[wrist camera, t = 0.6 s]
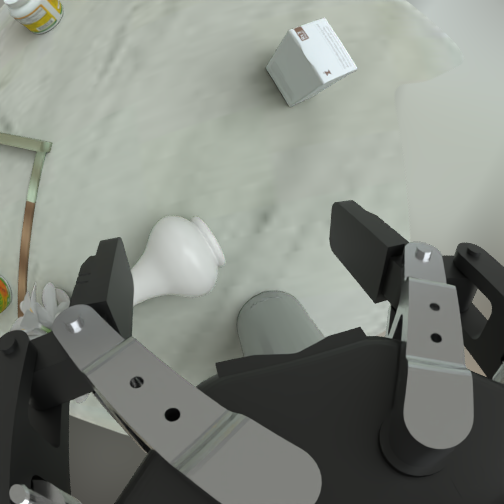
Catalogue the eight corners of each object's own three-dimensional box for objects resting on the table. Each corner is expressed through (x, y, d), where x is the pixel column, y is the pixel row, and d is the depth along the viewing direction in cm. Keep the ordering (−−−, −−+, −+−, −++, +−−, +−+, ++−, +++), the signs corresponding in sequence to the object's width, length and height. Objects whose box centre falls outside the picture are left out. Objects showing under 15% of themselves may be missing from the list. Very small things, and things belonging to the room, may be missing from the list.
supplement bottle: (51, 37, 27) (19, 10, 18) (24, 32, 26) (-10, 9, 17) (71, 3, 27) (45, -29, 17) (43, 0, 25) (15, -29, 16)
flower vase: (176, 206, 43) (31, 300, 36) (190, 168, 25) (-35, 322, 19) (224, 287, 45) (81, 378, 38) (270, 303, 27) (46, 442, 20)
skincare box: (317, 94, 35) (363, 70, 24) (287, 109, 35) (325, 87, 24) (291, 53, 34) (328, 14, 22) (261, 67, 34) (288, 28, 22)
